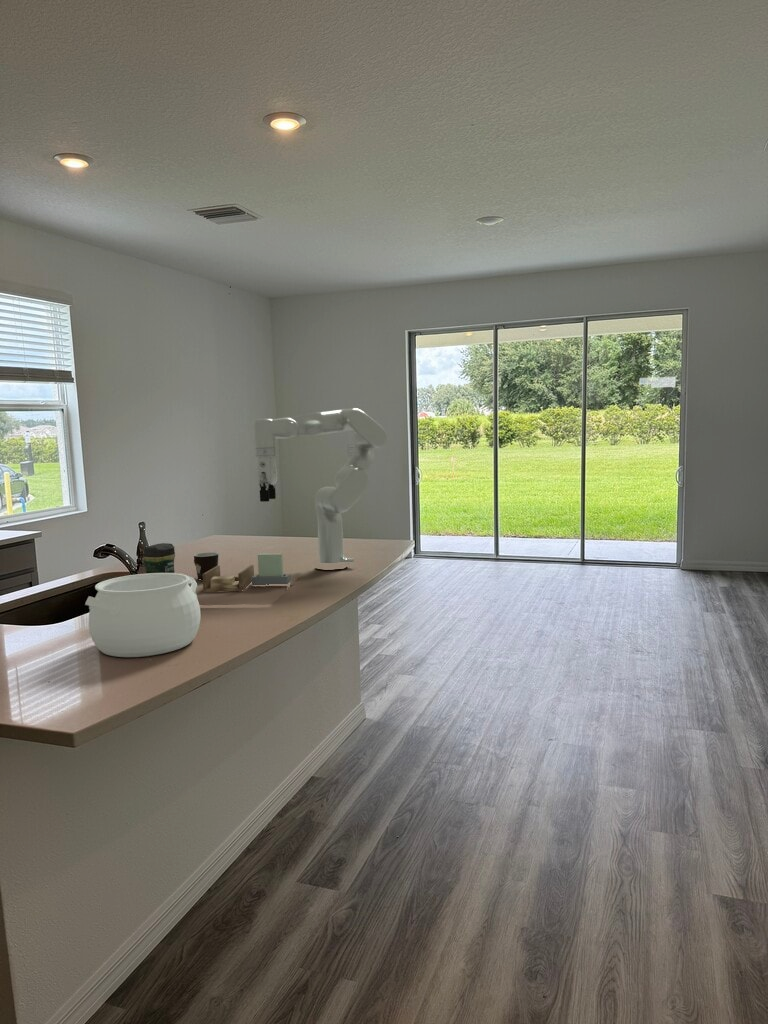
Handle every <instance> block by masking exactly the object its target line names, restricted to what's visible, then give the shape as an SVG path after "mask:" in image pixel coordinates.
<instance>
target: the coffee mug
mask: <svg viewBox="0 0 768 1024" xmlns="http://www.w3.org/2000/svg"><path fill="white" fill-rule="evenodd" d="M193 564H194V566H195V569H196V570H195V571H196V575H197V580H198V579H201V580H203V575H202V574H204V573H205V572H207V571H209V570H211V569H212V568H214V567H216V566H219V552H209V551H208V552H200V553H195V554H193Z"/></svg>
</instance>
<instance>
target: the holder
mask: <svg viewBox="0 0 768 1024" xmlns="http://www.w3.org/2000/svg"><path fill="white" fill-rule="evenodd" d="M290 581H291V573H283V576H264V577H259V573H257V574H256V573H255V574H254V576H253V577H252V585H266V584H267V585H269V584H288V583H289V582H290ZM252 585H251V586H252Z"/></svg>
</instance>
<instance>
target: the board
mask: <svg viewBox="0 0 768 1024" xmlns="http://www.w3.org/2000/svg"><path fill="white" fill-rule="evenodd" d="M283 560H284V559H283V553H280V552H279V553H258V554H257V568H258V574H259V577H264V576H283V574H284V563H283Z"/></svg>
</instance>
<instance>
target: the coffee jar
mask: <svg viewBox="0 0 768 1024" xmlns="http://www.w3.org/2000/svg"><path fill="white" fill-rule="evenodd" d="M175 551H176V549H175V546H174V545H173V543H167V542H165V543H164V542H162V543H155V544H152V545H148V546H145V548H144V549H143V560H144V563H145V574H148V573H175V572H176V571H175V559H176V558H175V557H176V552H175Z"/></svg>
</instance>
